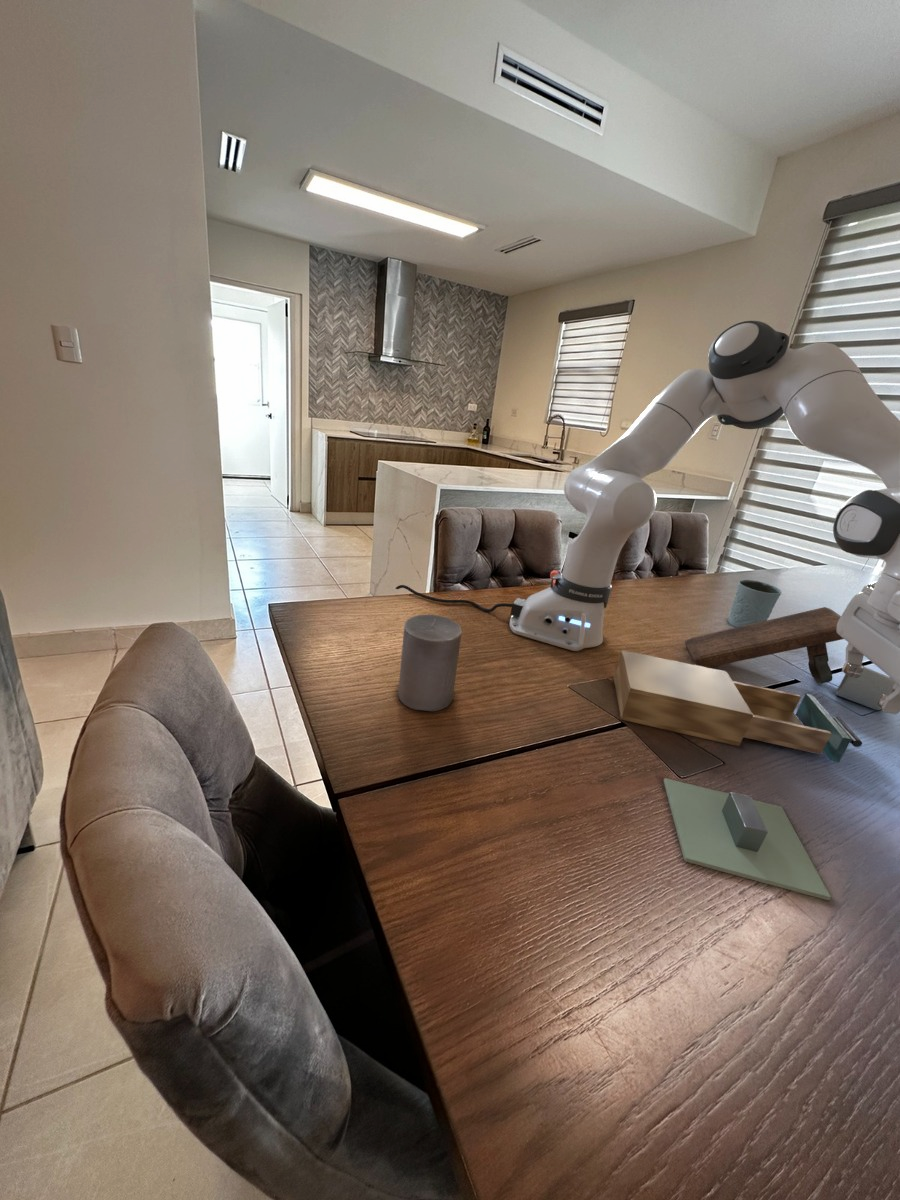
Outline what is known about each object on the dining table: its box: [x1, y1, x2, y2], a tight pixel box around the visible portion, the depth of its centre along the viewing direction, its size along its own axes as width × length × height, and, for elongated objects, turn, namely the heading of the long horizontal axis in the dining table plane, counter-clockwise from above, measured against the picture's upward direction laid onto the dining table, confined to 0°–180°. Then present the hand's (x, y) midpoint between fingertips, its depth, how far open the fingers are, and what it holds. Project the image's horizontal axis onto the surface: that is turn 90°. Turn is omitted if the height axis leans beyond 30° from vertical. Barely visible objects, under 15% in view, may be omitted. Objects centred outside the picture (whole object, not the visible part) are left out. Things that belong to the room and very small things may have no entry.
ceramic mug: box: [835, 665, 895, 712], centre depth 99 cm, size 11×8×8 cm
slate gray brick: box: [722, 791, 768, 852], centre depth 61 cm, size 3×6×4 cm, turn 167°
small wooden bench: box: [684, 606, 845, 685], centre depth 106 cm, size 10×16×30 cm
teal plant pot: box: [727, 579, 782, 628], centre depth 130 cm, size 10×10×12 cm
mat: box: [663, 777, 832, 901], centre depth 62 cm, size 16×14×1 cm
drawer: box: [732, 680, 863, 763], centre depth 84 cm, size 23×13×5 cm, turn 77°
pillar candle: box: [397, 614, 463, 712], centre depth 80 cm, size 10×10×15 cm
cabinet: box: [613, 649, 753, 747], centre depth 87 cm, size 20×15×7 cm
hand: (867, 691), depth 67 cm, fingers open, 8 cm apart
